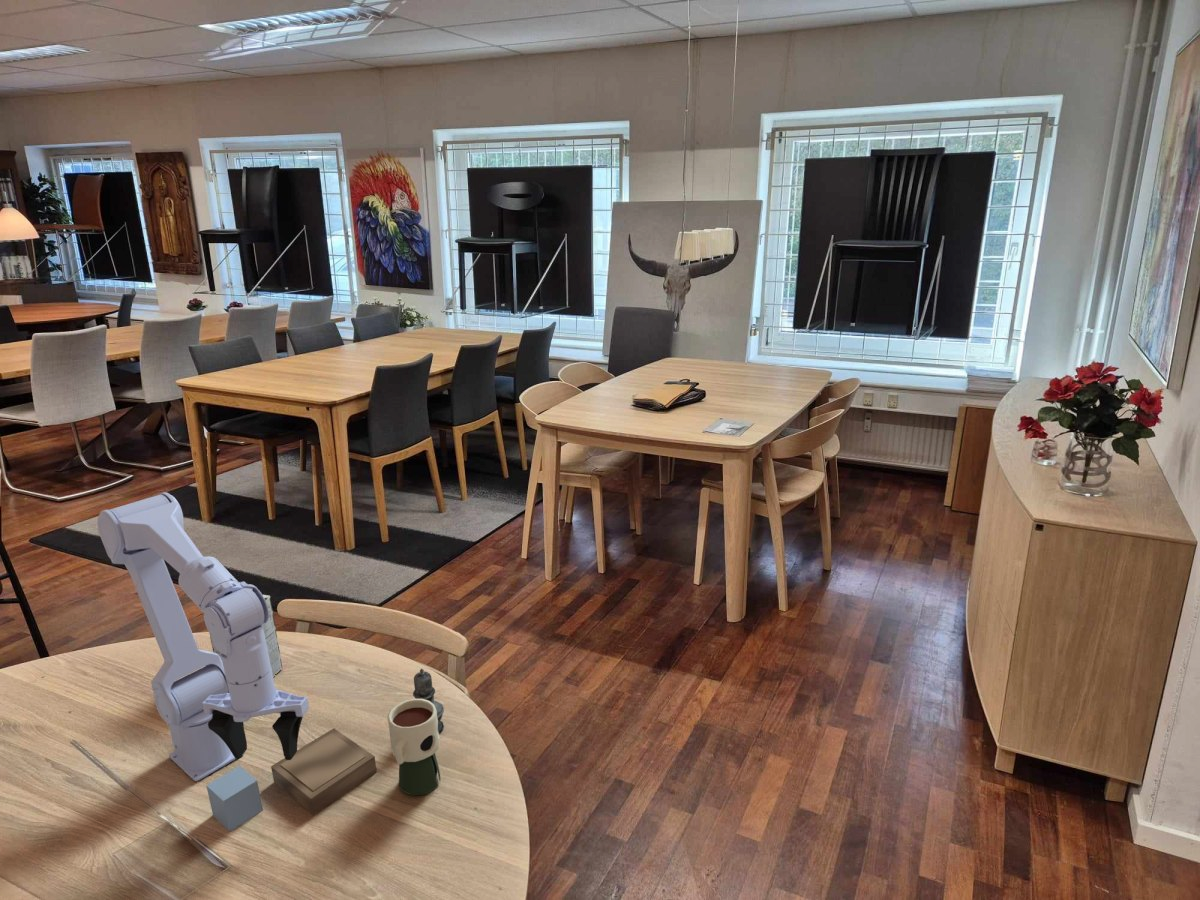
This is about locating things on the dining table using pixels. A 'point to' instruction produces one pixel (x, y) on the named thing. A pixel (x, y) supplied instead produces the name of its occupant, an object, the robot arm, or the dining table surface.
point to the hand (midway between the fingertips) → (266, 754)
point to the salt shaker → (427, 694)
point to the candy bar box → (267, 640)
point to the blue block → (234, 798)
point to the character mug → (415, 744)
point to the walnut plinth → (324, 770)
